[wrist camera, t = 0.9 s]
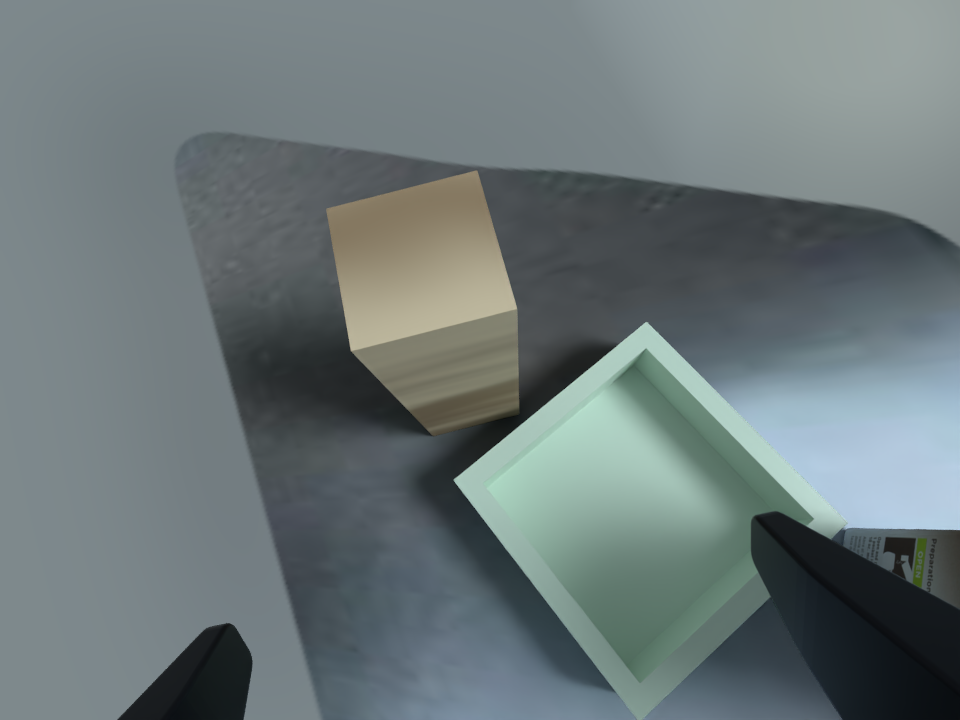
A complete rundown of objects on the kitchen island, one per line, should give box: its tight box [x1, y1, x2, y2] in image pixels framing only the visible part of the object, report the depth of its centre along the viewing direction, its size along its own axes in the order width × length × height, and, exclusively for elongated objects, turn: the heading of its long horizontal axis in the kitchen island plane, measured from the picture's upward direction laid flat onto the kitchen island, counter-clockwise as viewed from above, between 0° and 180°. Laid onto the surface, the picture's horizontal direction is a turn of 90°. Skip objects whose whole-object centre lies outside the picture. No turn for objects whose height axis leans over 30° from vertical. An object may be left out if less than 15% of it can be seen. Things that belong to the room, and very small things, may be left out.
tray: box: [454, 322, 848, 720], centre depth 21 cm, size 10×10×3 cm
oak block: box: [326, 171, 519, 436], centre depth 19 cm, size 4×4×12 cm
